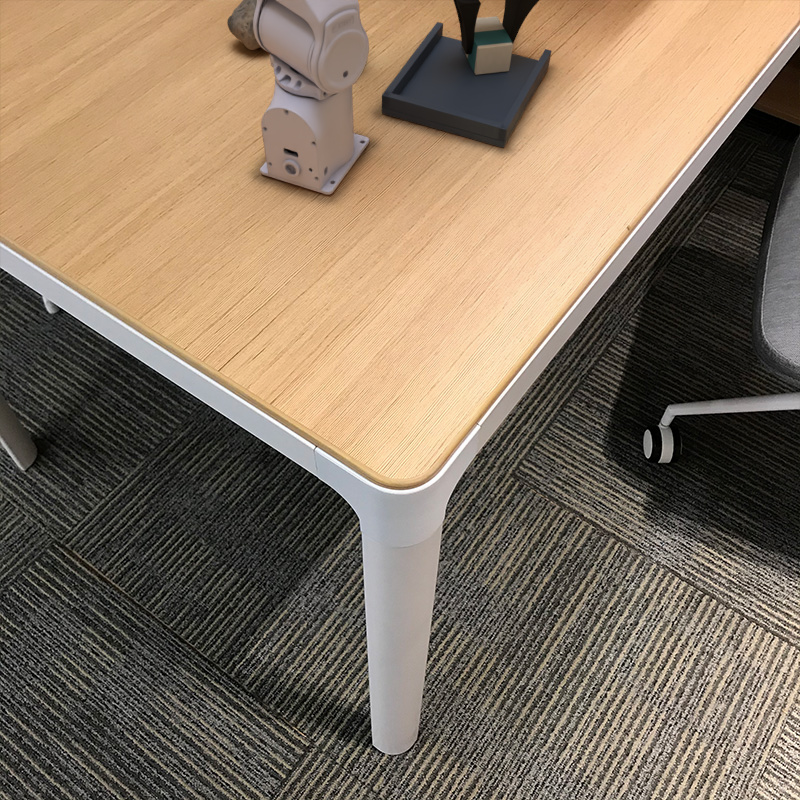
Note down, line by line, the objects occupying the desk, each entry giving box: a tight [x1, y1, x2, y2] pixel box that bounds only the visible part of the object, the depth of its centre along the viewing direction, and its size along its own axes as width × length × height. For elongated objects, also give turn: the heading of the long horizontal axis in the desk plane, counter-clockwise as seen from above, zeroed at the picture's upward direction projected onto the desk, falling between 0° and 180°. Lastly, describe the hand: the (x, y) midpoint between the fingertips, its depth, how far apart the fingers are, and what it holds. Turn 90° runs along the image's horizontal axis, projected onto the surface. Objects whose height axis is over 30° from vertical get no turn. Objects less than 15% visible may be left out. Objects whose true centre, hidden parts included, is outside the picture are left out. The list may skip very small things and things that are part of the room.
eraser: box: [462, 16, 514, 75], centre depth 87 cm, size 4×6×3 cm
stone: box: [226, 0, 262, 51], centre depth 88 cm, size 10×5×8 cm
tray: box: [381, 21, 552, 149], centre depth 85 cm, size 16×14×2 cm
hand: (486, 47), depth 87 cm, fingers closed on eraser, 4 cm apart
